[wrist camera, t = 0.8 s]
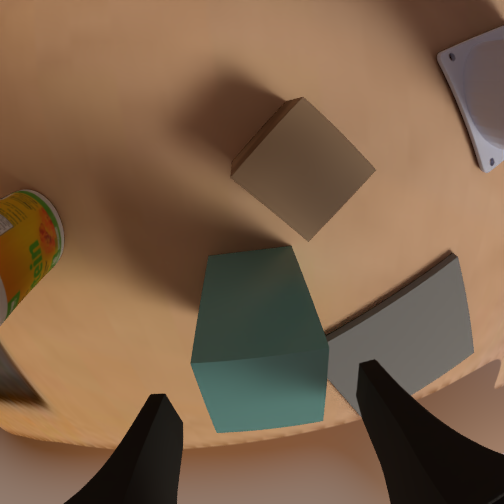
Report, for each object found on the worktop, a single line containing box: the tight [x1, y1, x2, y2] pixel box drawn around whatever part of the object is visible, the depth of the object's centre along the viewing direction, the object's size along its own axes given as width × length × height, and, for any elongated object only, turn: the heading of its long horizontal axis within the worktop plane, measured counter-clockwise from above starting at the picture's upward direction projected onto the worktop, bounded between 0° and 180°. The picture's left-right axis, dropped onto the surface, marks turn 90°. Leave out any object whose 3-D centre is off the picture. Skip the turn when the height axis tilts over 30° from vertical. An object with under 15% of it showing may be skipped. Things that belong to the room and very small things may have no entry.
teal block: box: [191, 246, 329, 433], centre depth 14 cm, size 4×4×8 cm
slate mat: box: [325, 253, 474, 417], centre depth 20 cm, size 12×12×1 cm
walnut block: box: [230, 97, 376, 242], centre depth 13 cm, size 4×4×4 cm
